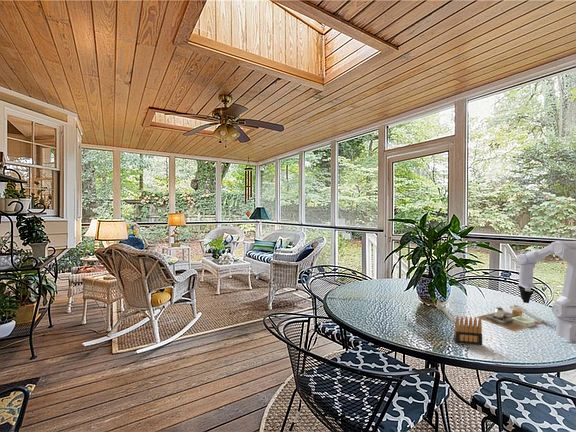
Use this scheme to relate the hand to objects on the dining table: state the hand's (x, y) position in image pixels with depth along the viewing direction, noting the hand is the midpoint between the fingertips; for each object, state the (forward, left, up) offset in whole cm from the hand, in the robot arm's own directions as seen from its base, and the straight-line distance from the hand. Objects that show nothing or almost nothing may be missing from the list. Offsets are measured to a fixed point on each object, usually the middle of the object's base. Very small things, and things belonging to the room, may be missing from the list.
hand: (525, 301), depth 155 cm
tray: (-12, +9, -8) cm, 17 cm away
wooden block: (-5, +9, -7) cm, 12 cm away
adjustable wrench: (+3, -3, -9) cm, 10 cm away
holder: (-9, +13, -8) cm, 18 cm away
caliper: (-4, +42, -9) cm, 43 cm away
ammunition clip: (-35, +45, -9) cm, 58 cm away
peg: (-11, +19, -7) cm, 23 cm away
